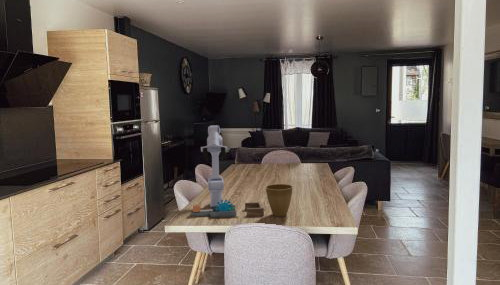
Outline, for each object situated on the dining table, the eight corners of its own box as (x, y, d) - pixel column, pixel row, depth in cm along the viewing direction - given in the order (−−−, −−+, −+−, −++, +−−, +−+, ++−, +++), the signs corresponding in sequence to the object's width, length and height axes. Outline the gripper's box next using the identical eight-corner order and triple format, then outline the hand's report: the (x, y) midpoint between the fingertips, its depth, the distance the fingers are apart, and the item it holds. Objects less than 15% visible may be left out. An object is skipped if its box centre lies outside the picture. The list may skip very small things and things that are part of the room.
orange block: (193, 213, 214) (193, 204, 214) (213, 212, 215) (212, 204, 215) (193, 215, 210) (192, 206, 210) (212, 214, 211) (212, 205, 211)
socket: (192, 211, 219) (192, 206, 219) (235, 209, 221) (235, 204, 221) (190, 218, 205) (190, 213, 205) (236, 216, 207) (236, 211, 207)
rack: (244, 209, 222) (244, 202, 221) (260, 208, 223) (260, 201, 222) (246, 216, 208) (246, 209, 208) (263, 215, 209) (263, 208, 208)
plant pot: (290, 210, 217) (290, 183, 216) (294, 218, 202) (294, 189, 201) (265, 211, 217) (264, 184, 215) (267, 219, 202) (266, 190, 200)
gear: (213, 212, 210) (217, 197, 216) (214, 217, 215) (218, 202, 221) (232, 215, 209) (236, 200, 215) (233, 220, 213) (236, 205, 220)
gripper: (200, 137, 207) (200, 155, 198) (227, 136, 208) (227, 155, 199) (201, 145, 212) (200, 164, 203) (226, 145, 214) (227, 163, 204)
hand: (214, 160), depth 202 cm, fingers open, 7 cm apart
